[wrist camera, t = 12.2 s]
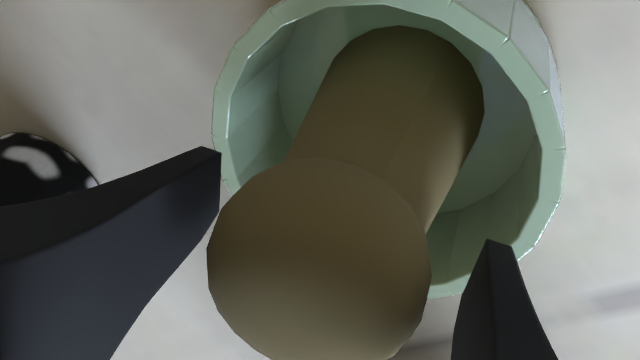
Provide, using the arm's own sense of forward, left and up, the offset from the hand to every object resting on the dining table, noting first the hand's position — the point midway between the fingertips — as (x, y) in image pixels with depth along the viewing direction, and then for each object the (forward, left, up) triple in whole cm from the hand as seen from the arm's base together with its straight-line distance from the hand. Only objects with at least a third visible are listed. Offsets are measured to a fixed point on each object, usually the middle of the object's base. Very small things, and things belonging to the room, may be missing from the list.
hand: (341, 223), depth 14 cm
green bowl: (0, 0, -8) cm, 8 cm away
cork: (0, 0, -8) cm, 8 cm away
